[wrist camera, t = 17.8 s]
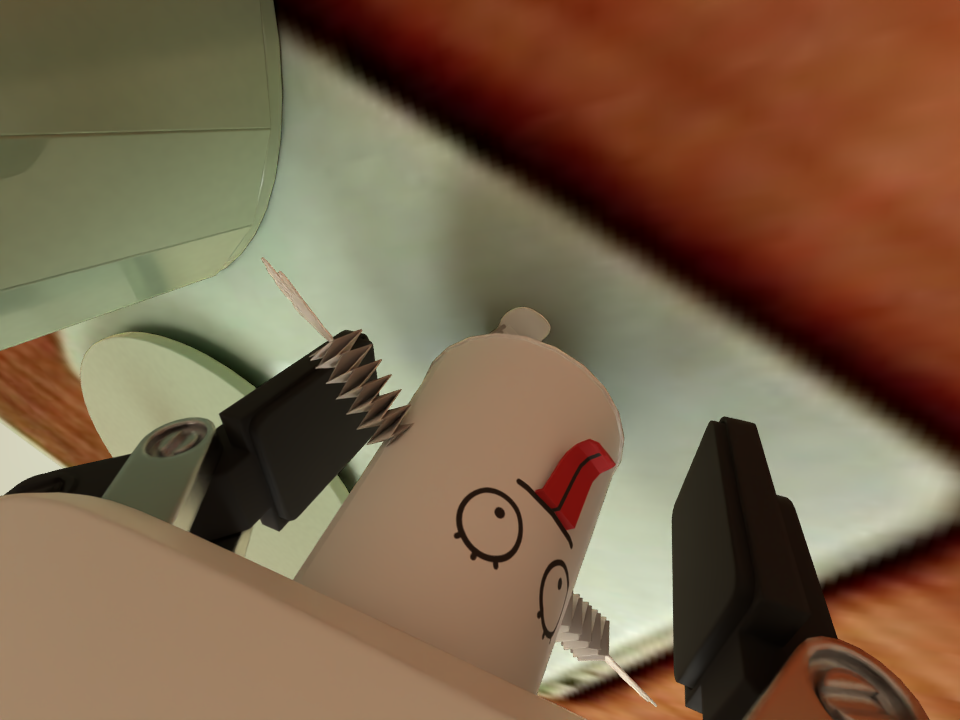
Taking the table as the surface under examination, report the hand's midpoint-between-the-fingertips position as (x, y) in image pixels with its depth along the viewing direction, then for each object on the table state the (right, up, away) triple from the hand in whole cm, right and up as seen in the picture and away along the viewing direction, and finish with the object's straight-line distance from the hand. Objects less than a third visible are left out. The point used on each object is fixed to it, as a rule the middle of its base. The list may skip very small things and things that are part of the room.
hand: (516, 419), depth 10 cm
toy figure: (+1, +1, +2) cm, 2 cm away
